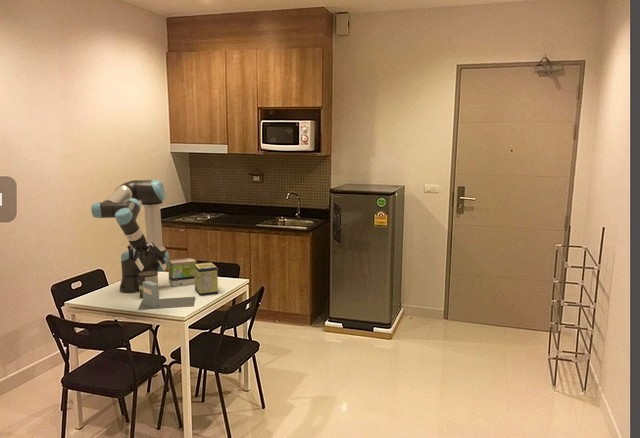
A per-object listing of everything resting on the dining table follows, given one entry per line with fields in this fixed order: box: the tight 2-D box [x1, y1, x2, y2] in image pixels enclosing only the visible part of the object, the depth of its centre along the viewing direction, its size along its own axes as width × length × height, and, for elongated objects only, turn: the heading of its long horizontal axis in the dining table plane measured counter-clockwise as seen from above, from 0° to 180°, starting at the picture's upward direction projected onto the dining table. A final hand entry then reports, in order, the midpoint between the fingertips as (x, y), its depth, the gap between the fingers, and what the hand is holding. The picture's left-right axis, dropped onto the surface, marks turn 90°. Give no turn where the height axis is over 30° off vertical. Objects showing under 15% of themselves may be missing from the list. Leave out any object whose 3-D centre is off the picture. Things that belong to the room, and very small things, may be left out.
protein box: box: [194, 261, 219, 297], centre depth 289 cm, size 10×16×16 cm
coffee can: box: [138, 271, 159, 300], centre depth 278 cm, size 10×10×14 cm
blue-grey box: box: [142, 281, 160, 308], centre depth 262 cm, size 4×10×12 cm, turn 47°
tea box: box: [168, 257, 198, 288], centre depth 306 cm, size 15×10×15 cm, turn 120°
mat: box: [137, 296, 196, 311], centre depth 266 cm, size 18×28×1 cm, turn 102°
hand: (153, 268), depth 256 cm, fingers open, 13 cm apart
